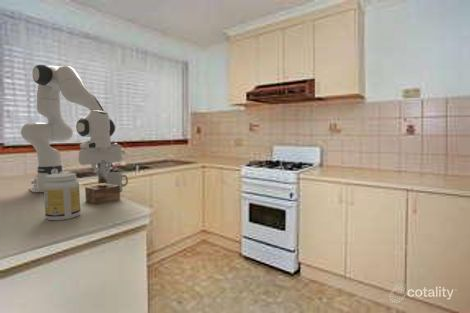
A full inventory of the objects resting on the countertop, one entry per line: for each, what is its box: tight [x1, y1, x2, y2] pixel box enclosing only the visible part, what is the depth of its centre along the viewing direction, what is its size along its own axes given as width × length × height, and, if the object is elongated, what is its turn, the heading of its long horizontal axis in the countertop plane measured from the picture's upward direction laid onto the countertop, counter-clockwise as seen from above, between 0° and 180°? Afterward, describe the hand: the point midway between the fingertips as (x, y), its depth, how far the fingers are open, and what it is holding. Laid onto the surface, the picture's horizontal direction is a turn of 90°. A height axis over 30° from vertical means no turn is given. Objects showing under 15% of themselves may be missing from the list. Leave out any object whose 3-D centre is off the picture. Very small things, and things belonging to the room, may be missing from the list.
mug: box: [105, 171, 129, 193], centre depth 163 cm, size 12×8×11 cm
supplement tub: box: [43, 172, 81, 221], centre depth 115 cm, size 12×12×17 cm
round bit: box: [96, 160, 108, 184], centre depth 141 cm, size 4×4×11 cm
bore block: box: [84, 183, 121, 205], centre depth 142 cm, size 10×12×7 cm
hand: (102, 172), depth 141 cm, fingers closed on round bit, 4 cm apart
